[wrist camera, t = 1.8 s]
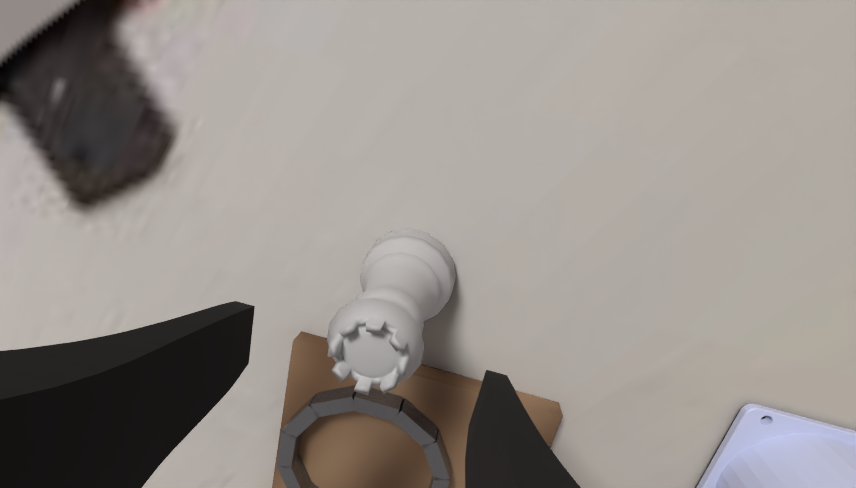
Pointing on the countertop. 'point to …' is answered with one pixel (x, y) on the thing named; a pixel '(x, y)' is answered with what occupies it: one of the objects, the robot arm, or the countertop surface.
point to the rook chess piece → (391, 310)
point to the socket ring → (371, 404)
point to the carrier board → (386, 425)
